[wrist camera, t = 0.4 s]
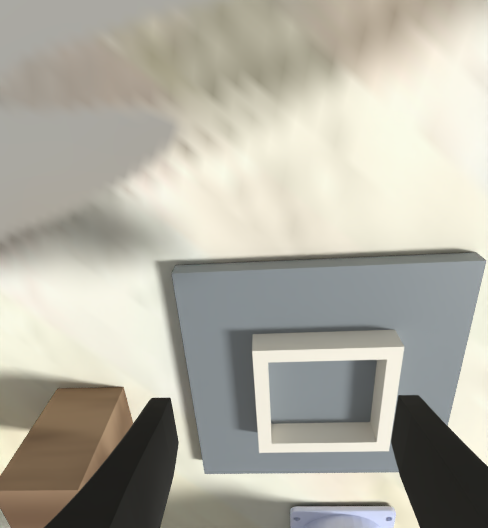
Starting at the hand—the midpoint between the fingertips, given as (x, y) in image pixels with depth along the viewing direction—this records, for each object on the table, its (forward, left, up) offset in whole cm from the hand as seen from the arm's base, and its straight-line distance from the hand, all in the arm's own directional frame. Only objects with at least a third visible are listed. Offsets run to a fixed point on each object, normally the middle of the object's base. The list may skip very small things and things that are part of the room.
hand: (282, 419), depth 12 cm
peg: (-10, +12, -10) cm, 19 cm away
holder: (-7, -3, -10) cm, 12 cm away
